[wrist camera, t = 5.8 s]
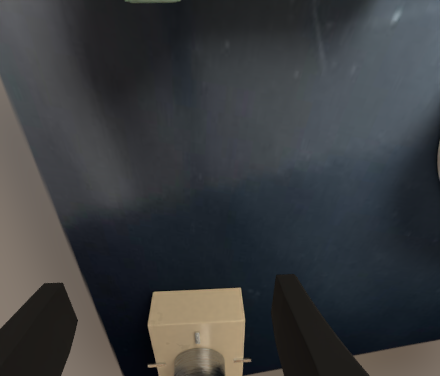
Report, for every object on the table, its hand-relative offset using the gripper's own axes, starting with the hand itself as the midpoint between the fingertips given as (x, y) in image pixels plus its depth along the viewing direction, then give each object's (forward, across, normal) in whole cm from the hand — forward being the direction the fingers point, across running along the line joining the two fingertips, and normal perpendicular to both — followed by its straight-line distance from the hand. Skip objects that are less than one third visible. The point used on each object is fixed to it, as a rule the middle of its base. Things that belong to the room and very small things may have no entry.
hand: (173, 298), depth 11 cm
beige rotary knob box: (+10, 0, +16) cm, 19 cm away
